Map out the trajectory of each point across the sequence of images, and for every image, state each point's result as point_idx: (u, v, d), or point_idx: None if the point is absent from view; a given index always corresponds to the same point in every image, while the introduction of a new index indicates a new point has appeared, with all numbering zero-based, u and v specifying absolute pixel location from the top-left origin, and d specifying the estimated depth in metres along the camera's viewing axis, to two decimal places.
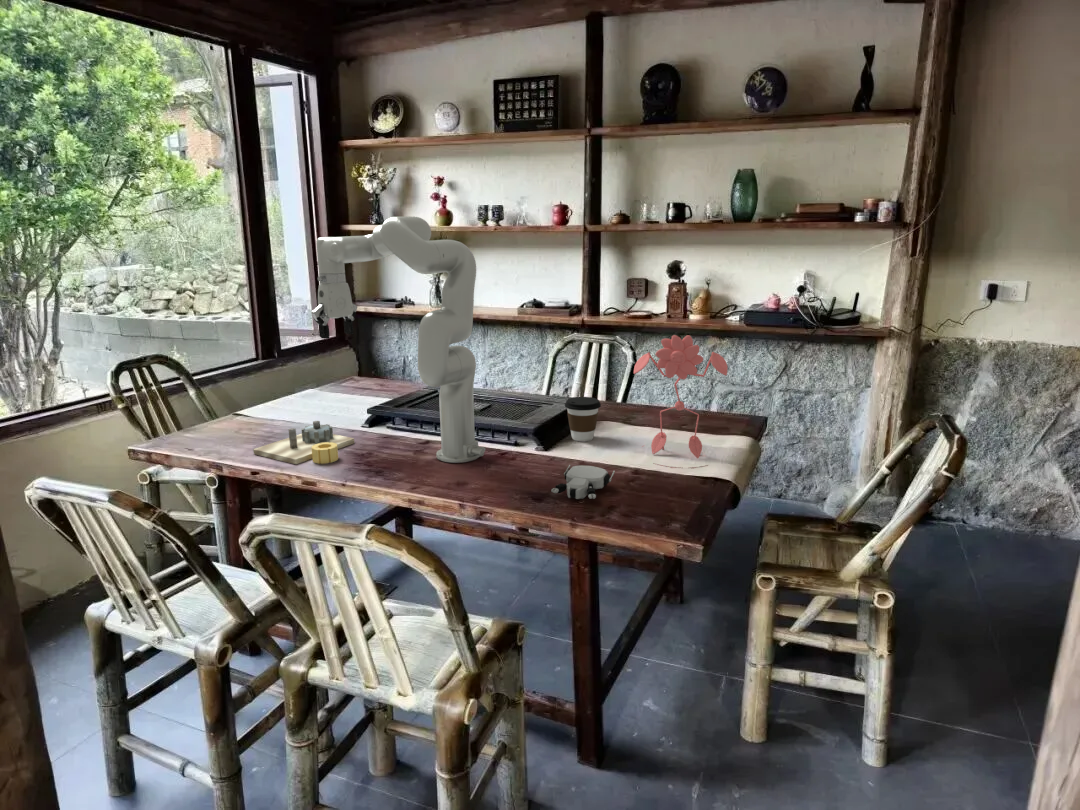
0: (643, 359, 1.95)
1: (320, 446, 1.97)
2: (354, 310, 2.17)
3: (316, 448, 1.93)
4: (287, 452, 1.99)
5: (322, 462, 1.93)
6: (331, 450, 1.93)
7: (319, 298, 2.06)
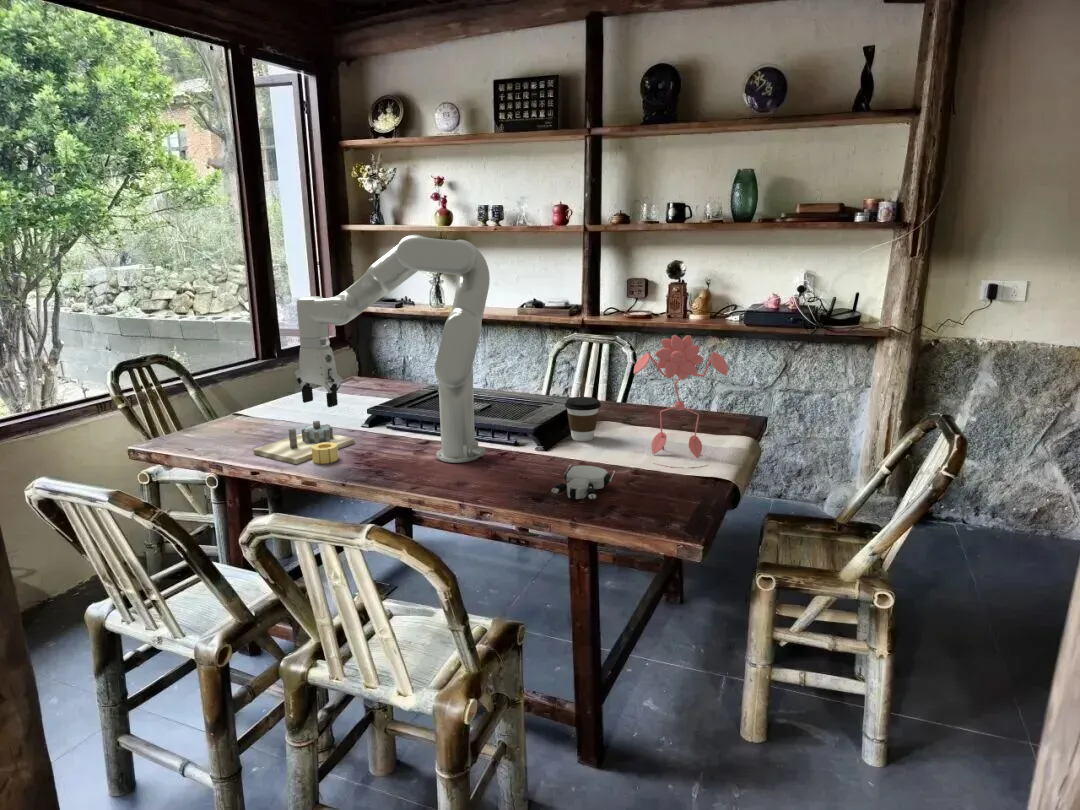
0: (643, 359, 1.95)
1: (320, 446, 1.97)
2: None
3: (316, 448, 1.93)
4: (287, 452, 1.99)
5: (322, 462, 1.93)
6: (331, 450, 1.93)
7: (326, 364, 1.86)
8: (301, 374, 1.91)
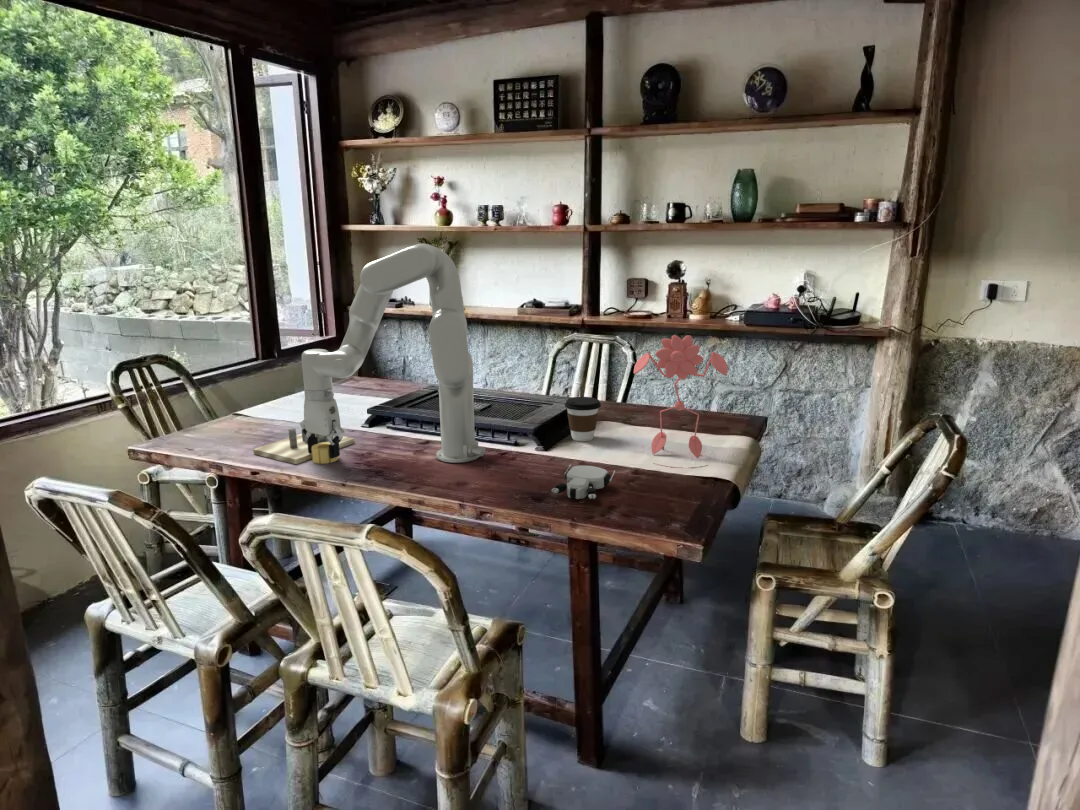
0: (643, 359, 1.95)
1: (320, 446, 1.97)
2: None
3: (316, 448, 1.93)
4: (287, 452, 1.99)
5: (322, 462, 1.93)
6: None
7: (330, 415, 1.90)
8: (305, 424, 1.94)
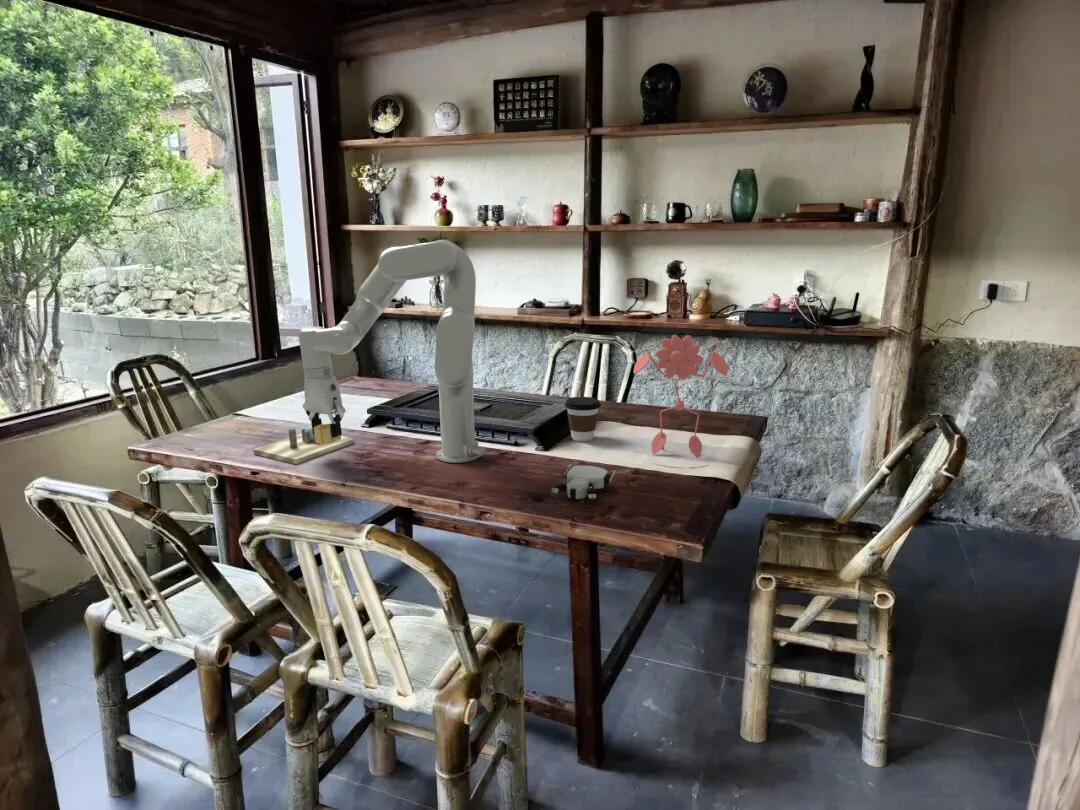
0: (643, 359, 1.95)
1: (322, 426, 1.95)
2: None
3: (318, 428, 1.92)
4: (287, 452, 1.99)
5: (325, 442, 1.92)
6: None
7: (331, 393, 1.88)
8: (307, 404, 1.93)
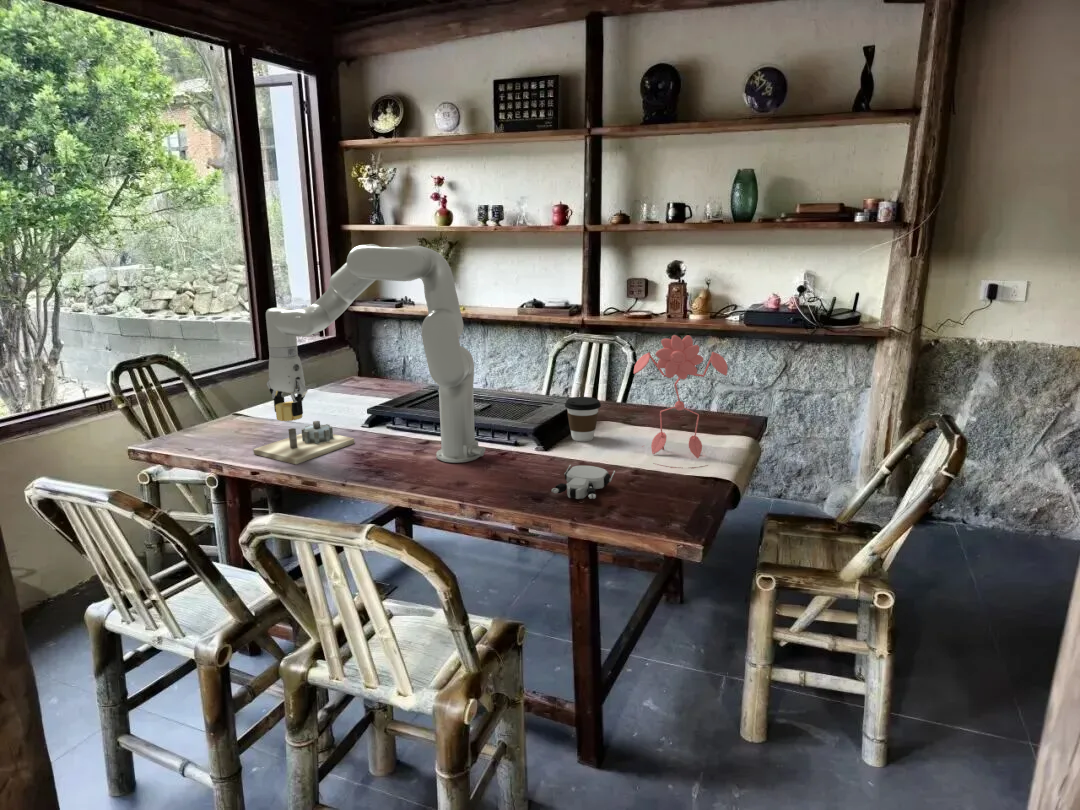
0: (643, 359, 1.95)
1: (284, 404, 2.01)
2: None
3: (280, 406, 1.97)
4: (287, 452, 1.99)
5: (285, 419, 1.97)
6: None
7: (294, 373, 1.94)
8: (270, 382, 1.98)
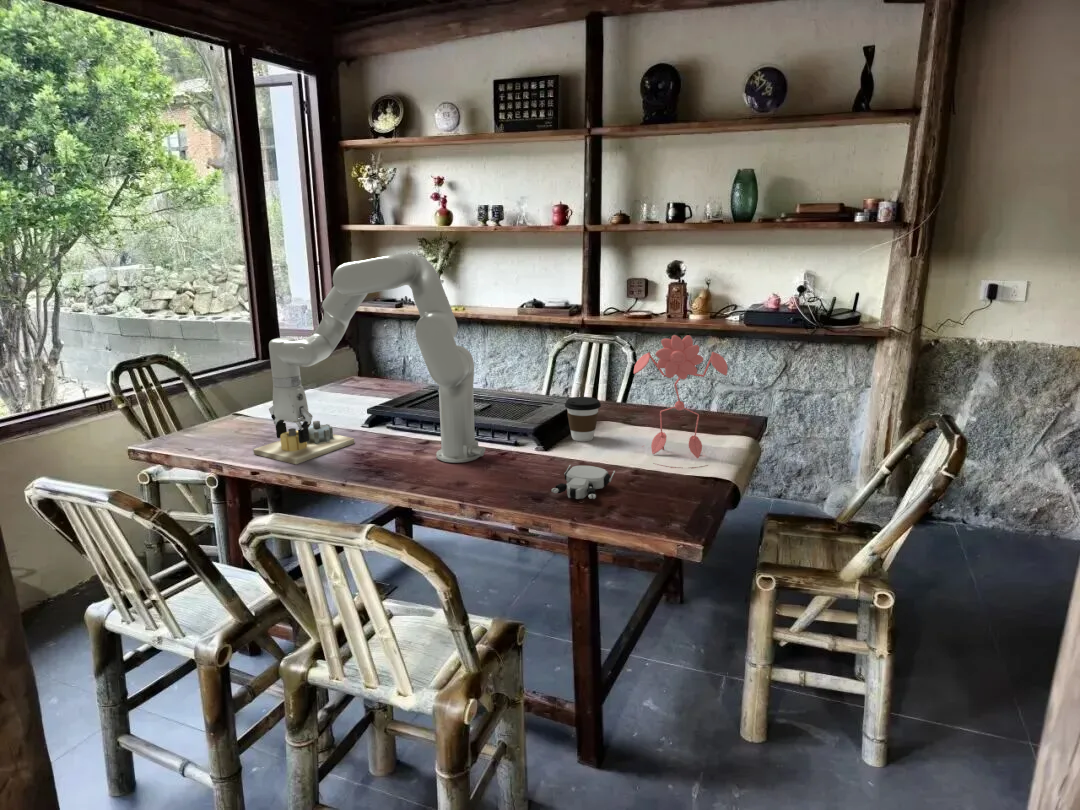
0: (643, 359, 1.95)
1: None
2: None
3: (285, 436, 2.00)
4: (287, 452, 1.99)
5: (290, 449, 1.99)
6: None
7: (297, 402, 1.96)
8: (274, 411, 2.00)
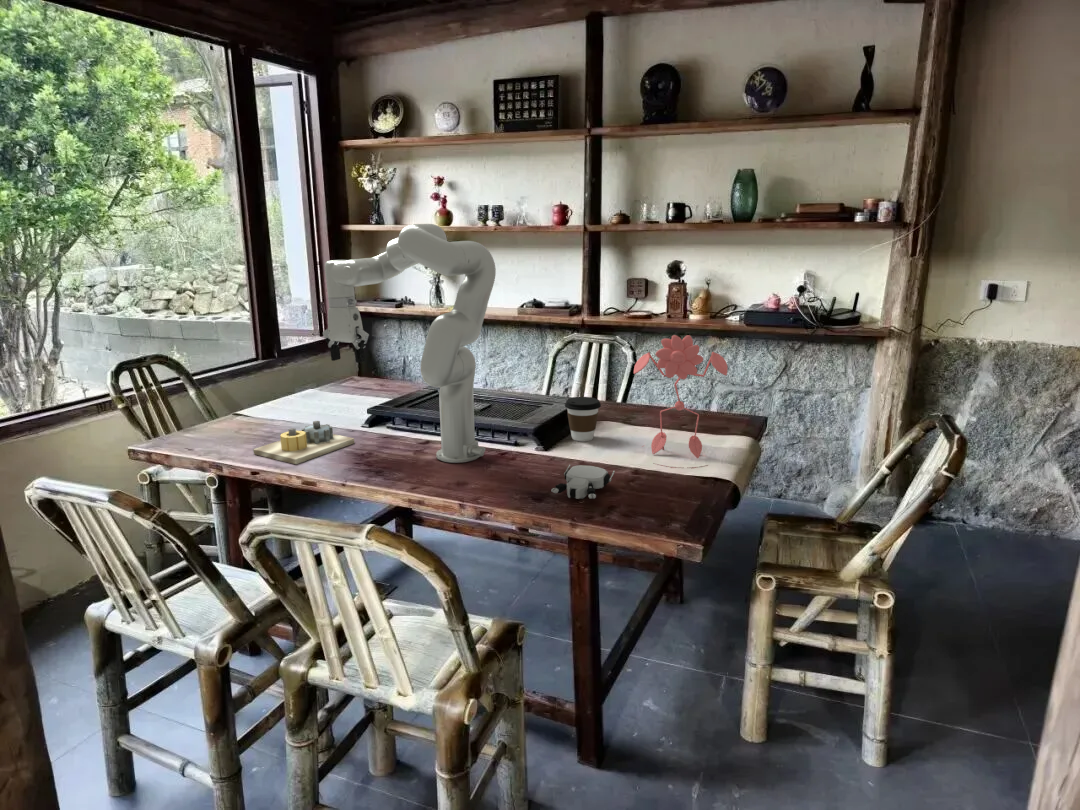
0: (643, 359, 1.95)
1: None
2: None
3: (285, 436, 2.00)
4: (287, 452, 1.99)
5: (290, 449, 1.99)
6: (299, 438, 2.00)
7: (354, 322, 2.01)
8: (330, 333, 2.05)
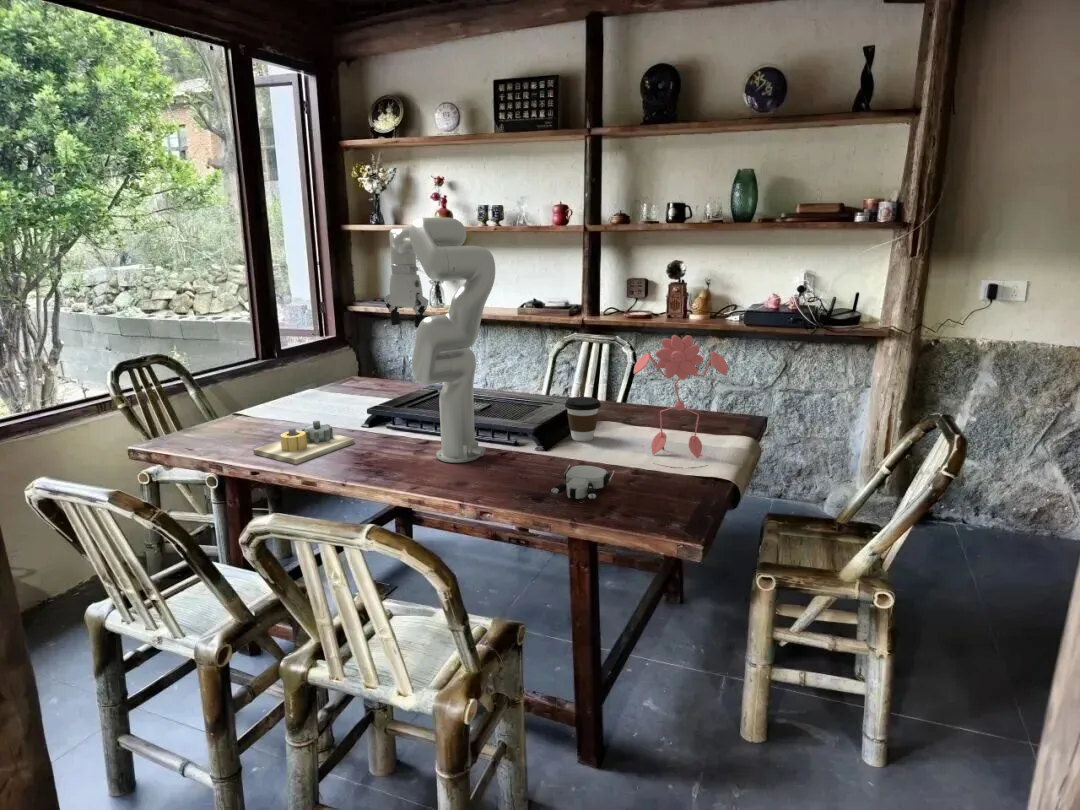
0: (643, 359, 1.95)
1: None
2: None
3: (285, 436, 2.00)
4: (287, 452, 1.99)
5: (290, 449, 1.99)
6: (299, 438, 2.00)
7: (415, 288, 2.11)
8: (391, 299, 2.15)
